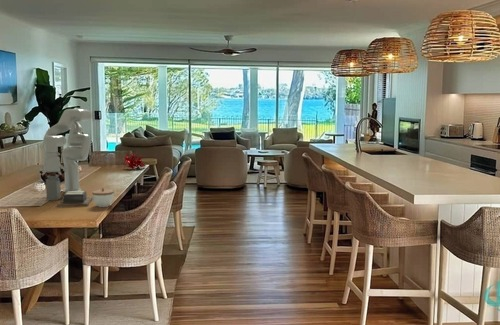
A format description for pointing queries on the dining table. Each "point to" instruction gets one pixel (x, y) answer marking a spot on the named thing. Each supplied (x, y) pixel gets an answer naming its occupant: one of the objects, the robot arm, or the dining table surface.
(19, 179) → the dining table surface
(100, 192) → the lidded bowl
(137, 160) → the sculptural form
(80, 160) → the robot arm
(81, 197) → the stand
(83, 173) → the dining table surface
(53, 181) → the perfume bottle
